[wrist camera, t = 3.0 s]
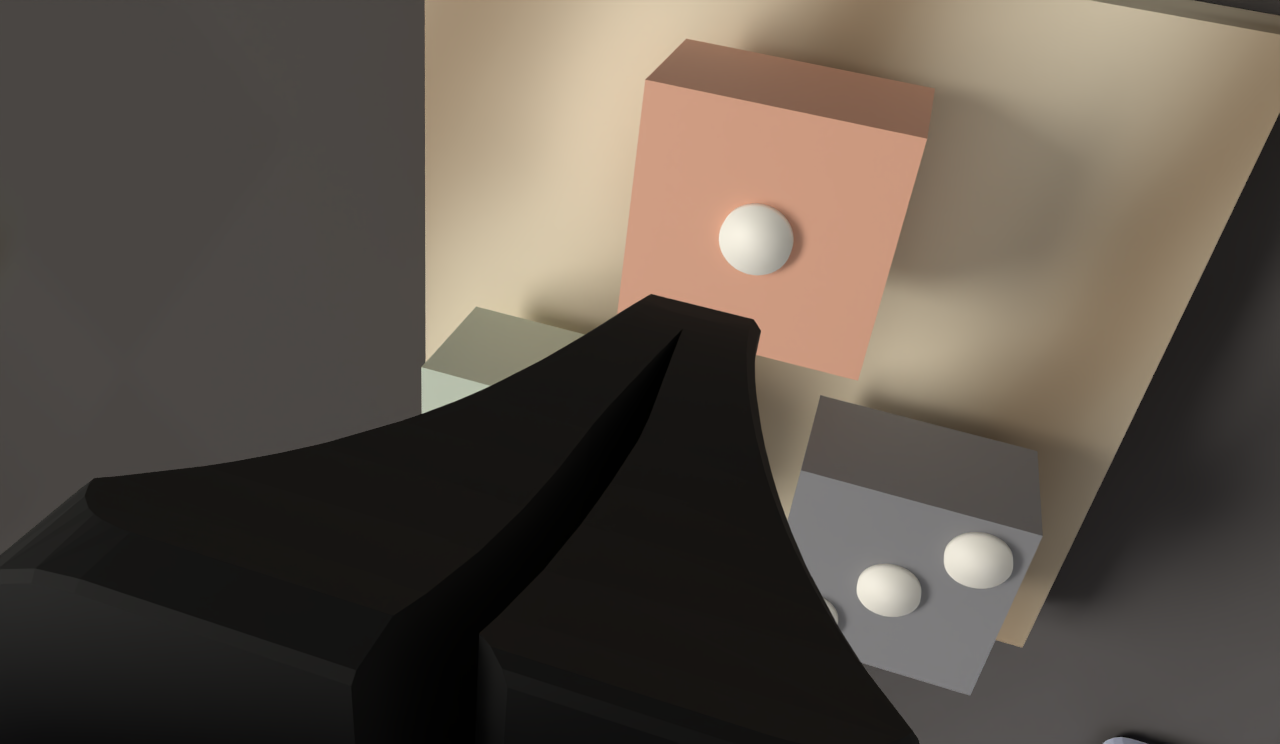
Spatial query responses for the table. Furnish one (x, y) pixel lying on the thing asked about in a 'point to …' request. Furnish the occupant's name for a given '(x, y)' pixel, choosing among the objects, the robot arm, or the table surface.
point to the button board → (937, 211)
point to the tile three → (915, 537)
